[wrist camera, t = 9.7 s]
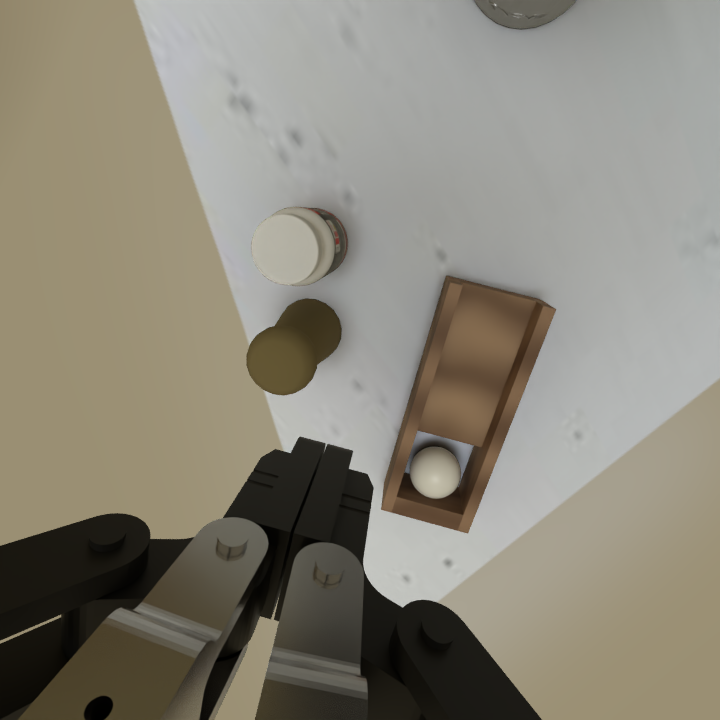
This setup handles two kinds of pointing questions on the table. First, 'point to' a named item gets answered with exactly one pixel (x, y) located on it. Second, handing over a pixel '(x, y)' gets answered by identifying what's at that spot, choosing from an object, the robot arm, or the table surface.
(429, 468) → the ball
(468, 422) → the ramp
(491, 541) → the table surface
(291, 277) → the pill bottle
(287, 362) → the pepper mill
